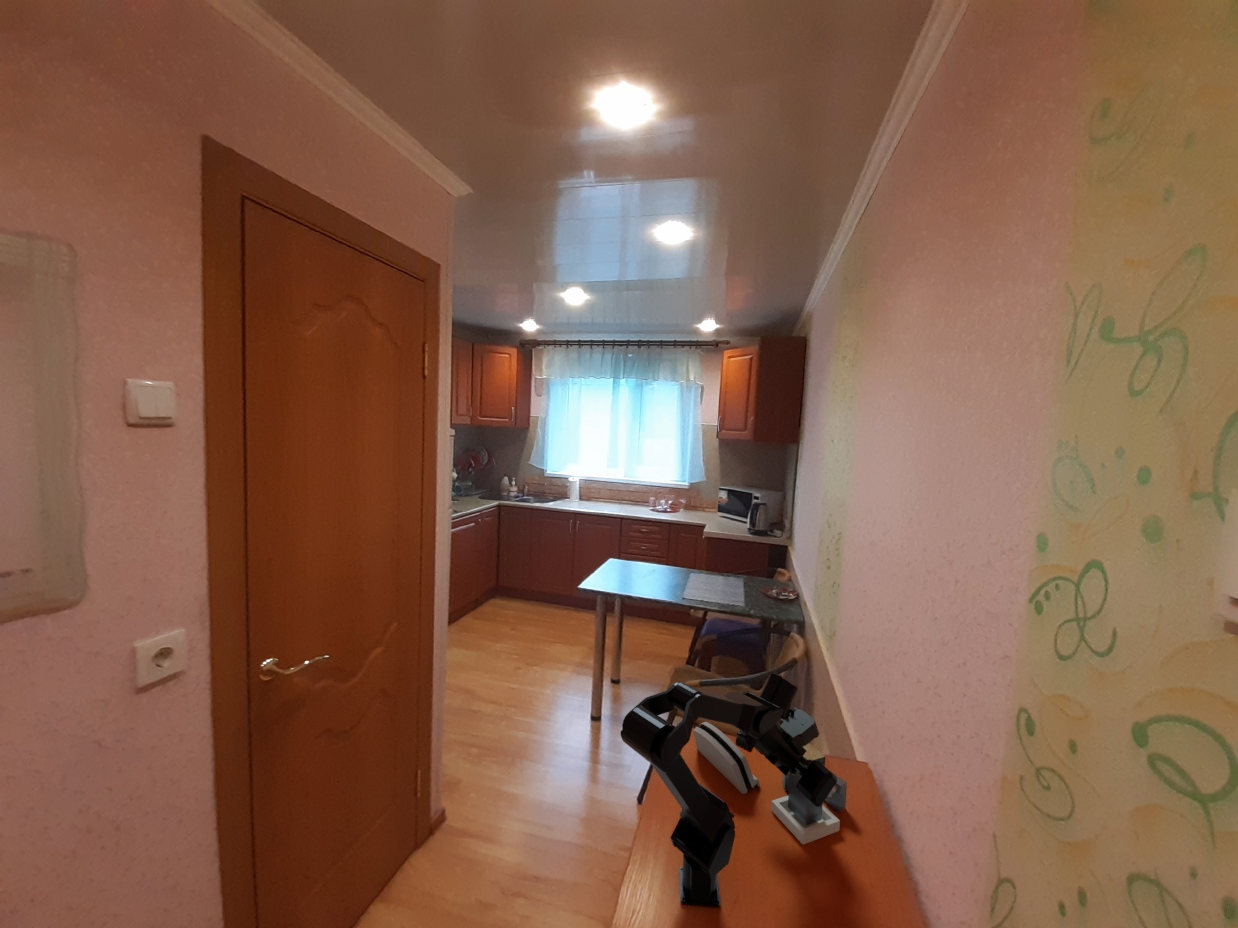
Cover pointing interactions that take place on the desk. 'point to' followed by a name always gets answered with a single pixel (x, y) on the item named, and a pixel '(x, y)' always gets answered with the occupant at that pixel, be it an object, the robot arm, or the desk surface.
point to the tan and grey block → (796, 799)
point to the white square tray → (798, 828)
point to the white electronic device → (724, 756)
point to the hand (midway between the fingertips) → (811, 779)
